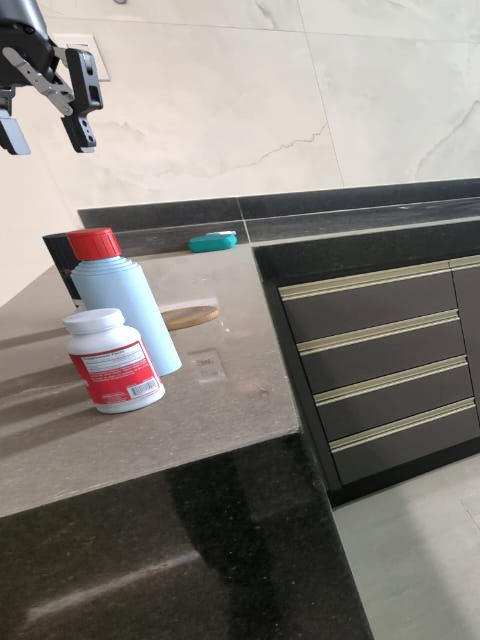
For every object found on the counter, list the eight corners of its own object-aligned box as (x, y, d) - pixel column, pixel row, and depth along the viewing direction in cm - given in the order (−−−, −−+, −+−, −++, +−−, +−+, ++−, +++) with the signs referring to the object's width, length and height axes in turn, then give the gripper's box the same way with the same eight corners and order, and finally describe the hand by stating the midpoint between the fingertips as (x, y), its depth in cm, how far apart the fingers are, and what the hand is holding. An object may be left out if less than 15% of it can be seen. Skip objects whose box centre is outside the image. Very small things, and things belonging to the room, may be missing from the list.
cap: (68, 261, 62) (56, 234, 61) (91, 254, 66) (79, 228, 65) (109, 258, 63) (97, 232, 62) (129, 251, 67) (118, 226, 66)
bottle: (108, 385, 67) (37, 241, 60) (137, 365, 73) (76, 232, 66) (166, 378, 69) (104, 237, 61) (191, 359, 74) (137, 228, 67)
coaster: (131, 333, 85) (129, 328, 85) (165, 314, 94) (163, 309, 94) (202, 326, 87) (200, 321, 87) (229, 308, 96) (227, 303, 96)
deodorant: (108, 316, 94) (69, 231, 88) (140, 315, 94) (103, 230, 88) (74, 327, 89) (30, 238, 83) (108, 327, 88) (66, 237, 82)
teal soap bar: (187, 253, 143) (200, 241, 163) (236, 248, 148) (242, 236, 168) (183, 242, 142) (196, 231, 162) (232, 237, 147) (239, 227, 167)
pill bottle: (112, 396, 64) (69, 310, 60) (174, 386, 66) (137, 302, 62) (87, 420, 59) (39, 327, 55) (155, 408, 61) (114, 318, 57)
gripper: (-161, -41, 48) (-56, 158, 55) (31, -35, 51) (108, 152, 58) (-82, -20, 55) (3, 155, 62) (84, -16, 58) (147, 150, 65)
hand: (53, 153), depth 60 cm, fingers open, 5 cm apart
